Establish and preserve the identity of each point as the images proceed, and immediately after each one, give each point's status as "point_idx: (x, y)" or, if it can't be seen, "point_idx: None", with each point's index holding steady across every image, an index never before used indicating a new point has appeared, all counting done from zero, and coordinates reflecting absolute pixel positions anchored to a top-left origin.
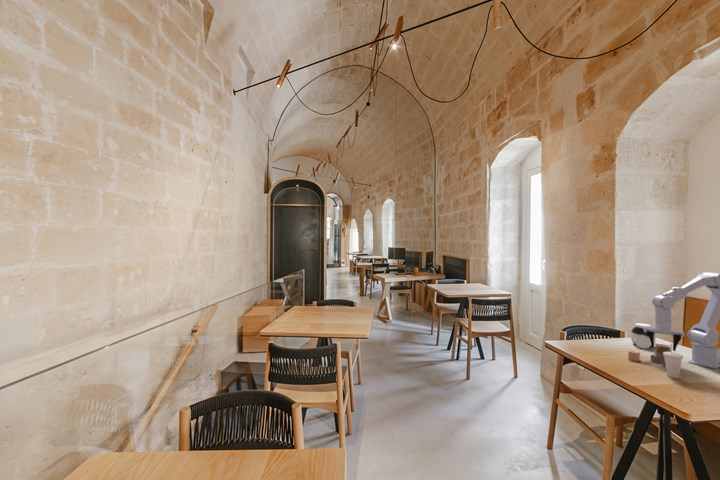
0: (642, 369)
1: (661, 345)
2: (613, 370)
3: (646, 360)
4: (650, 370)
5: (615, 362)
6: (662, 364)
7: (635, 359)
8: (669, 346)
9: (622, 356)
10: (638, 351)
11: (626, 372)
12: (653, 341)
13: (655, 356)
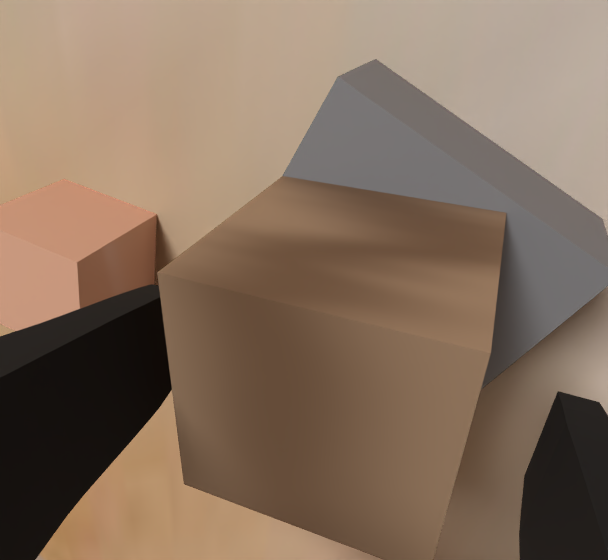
0: (187, 499)
1: (275, 420)
2: (55, 532)
3: None
4: (236, 512)
5: None
6: None
7: None
8: (455, 465)
9: (5, 167)
10: (63, 260)
11: (112, 554)
12: (67, 511)
13: None
